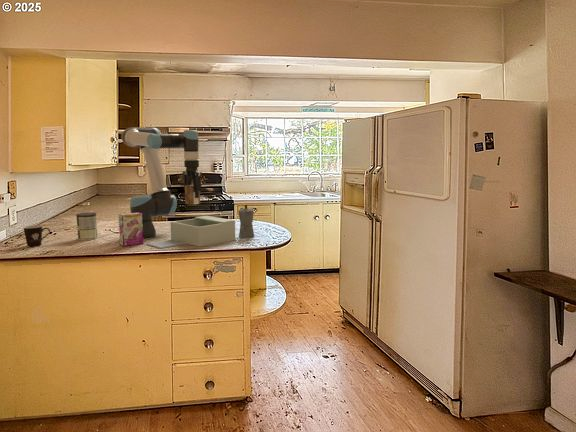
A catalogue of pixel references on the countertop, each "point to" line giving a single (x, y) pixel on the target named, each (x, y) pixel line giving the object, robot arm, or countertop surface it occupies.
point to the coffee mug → (34, 235)
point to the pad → (165, 244)
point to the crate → (203, 230)
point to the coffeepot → (246, 222)
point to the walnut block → (190, 195)
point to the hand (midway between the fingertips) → (192, 203)
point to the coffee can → (87, 226)
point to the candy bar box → (131, 229)
